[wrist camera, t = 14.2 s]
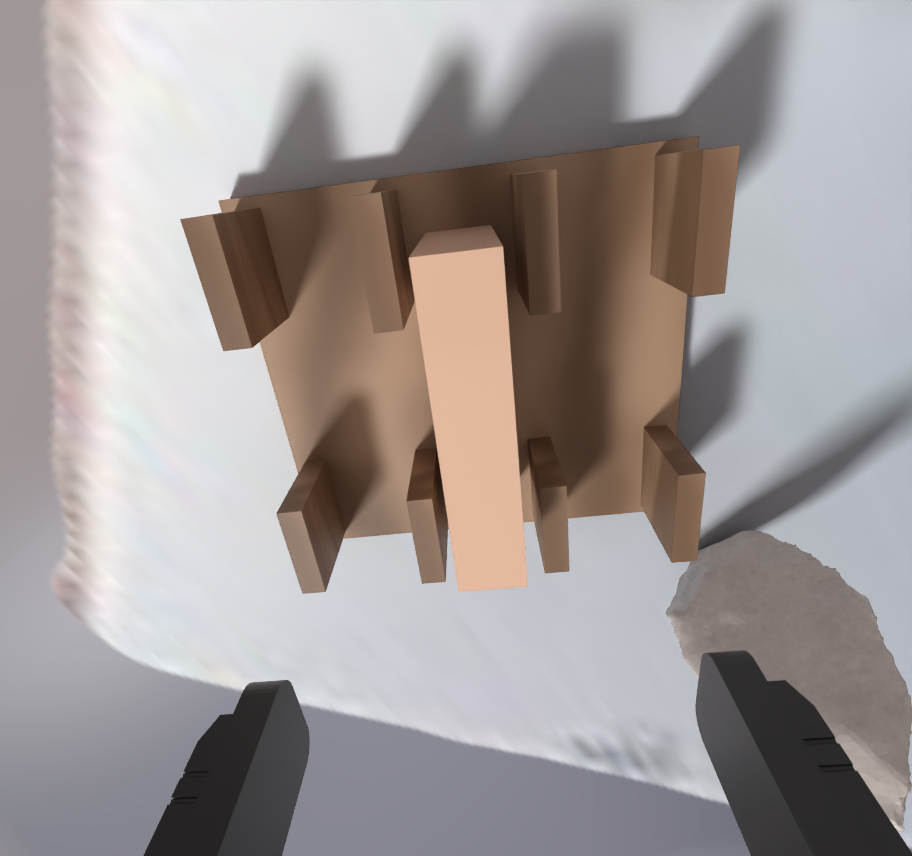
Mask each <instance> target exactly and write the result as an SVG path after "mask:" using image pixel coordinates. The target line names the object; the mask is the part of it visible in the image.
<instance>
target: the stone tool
mask: <svg viewBox="0 0 912 856" xmlns="http://www.w3.org/2000/svg"><path fill="white" fill-rule="evenodd" d="M666 615H667V617H668V618H669V619H670V620H671V622H672V623H671V624H672V625H673V627H674V630H675V635H676V637H677V639H678V640H679V644H680V647H681V649H682V654H683V658H684V660H685V661H686V663H687V664H688V665H689V666H690V667H691V669H692V670H693V671H694V673H695V675H696V677H697V678H698V679H699V672H700V663H701V657H702V655H703V653H710V652H725V651H739V650H745V651H747V652H749V653H750V654H751V655H752V657H753V658H754V660H755V661H756V663H757V664H758V666H759V668H760V669H761V671H762V673H763V674H764V676H765V678H766V679H767V681H778V680H786V681H787V682H788V683H789V684H790V685H791V686H792V687H794V688H795V689H796V690H797V691H798V692H799V693H801V694H802V695H803V696H804V697H805V698H806V699H807V700H809V701H810V702H811V703H812V704H813V705H814V706H815V707H816V709H817V710H818V712H819V713H820V715H821V716H822V718H823V719H824V721H825V722H826V724H827V725H828V727H829V728H830V730H831V731H832V733H833V735H834V736H835V740H836V742H837V743H839V744H840V745H841V747H842V748H843V750H844V751H845V753H846V754H847V756H848V757H849V759H850V760H851V762H852V763H853V768H854V769H855V771H858V772H859V774H860V775H861V777H862V778H863V780H864V781H865V783H866V785H867V786H868V788H869V789H870V791H871V792H872V794H873V795H874V797H875V798H876V800H877V801H878V803H879V804H880V806H881V807H882V809H883V810H884V812H885V813H886V815H887V816H888V818H889V819H890V821H891V822H892V824H893V825H894V827H895V828H896V829H898V830H900V831H904V830H905V828H904V827H903V826H902V825H903V821H904V812H905V809H906V808H905V802H906V797H907V795H908V794H909V793H910V792H911V786H912V784H911V782H910V774H911V773H910V771H909V764H908V755H909V746H910V741H909V738H910V734H911V733H912V732H911V723H912V706H911V697H910V695H909V694H908V690H907V686H906V682H905V681H904V679H903V678H902V677H901V674H900V673H899V671H898V669H897V667H896V665H895V663H894V658H893V656H892V654H891V653H890V652H889V651H888V649H887V648H886V647H885V644H884V642H883V637H882V636H881V633H880V631H879V629H878V625H877V623H876V621H877V617H876V616H875V615H874V612H873V609H872V607H871V605H870V603H869V599H868V598H867V597H866V596H864V595H862V594H860V593H859V592H857V591H856V590H855V589H853V588H852V587H850V586H848V585H847V584H846V582H845V581H844V580H843V579H842V577H841V576H840V573H838V571H836V568H829V567H828V566H823V565H822V564H821V562H820V561H819V560H817V559H816V558H814V557H813V556H812V555H811V554H808V553H806V552H803V551H801V550H800V549H799V548H797V547H796V545H792V544H788V543H786V542H781V541H779V540H777V539H775V538H774V537H773V536H771V535H769V534H766V533H763V532H761V531H754V530H751V531H741V532H739V533H737V534H735V535H733V536H732V537H730V538H727V539H725V540H723V541H721V542H718V543H715V544H711V545H710V546H708V547H706V548H704V549H699V550H698V554H697V561H691V562H690V565H689V567H688V569H687V571H686V572H685V573H684V574H683V575H682V576H681V577H680V579H679V583H678V588H677V592H676V595H675V596H674V598H673V600H672V602H671V605H670V607H669V608H668V609H667V611H666Z"/></svg>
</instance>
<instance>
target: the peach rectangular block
mask: <svg viewBox="0 0 912 856" xmlns="http://www.w3.org/2000/svg"><path fill="white" fill-rule="evenodd" d="M409 264H410V271H411V277H412V284H413V291H414V297H415V304H416V311H417V317H418V324H419V331H420V337H421V344H422V351H423V357H424V364H425V371H426V377H427V384H428V391H429V397H430V404H431V411H432V418H433V424H434V431H435V438H436V444H437V451H438V458H439V464H440V471H441V478H442V484H443V491H444V498H445V504H446V511H447V518H448V524H449V531H450V538H451V544H452V551H453V558H454V565H455V571H456V578H457V585H458V591H459V592H464V591H477V590H489V589H502V588H514V587H527V586H528V582H527V568H526V554H525V541H524V527H523V513H522V500H521V486H520V472H519V458H518V445H517V431H516V417H515V404H514V390H513V376H512V362H511V349H510V335H509V321H508V308H507V294H506V280H505V267H504V253H503V245H502V244H501V242H500V240H499V238H498V237H497V235H496V233H495V231H494V230H493V228H492V226H491V225H485V226H477V227H469V228H461V229H453V230H445V231H436V232H428V233H425V234H424V235H423V237H422V238H421V240H420V241H419V243H418V244H417V246H416V247H415V249H414V250H413V252H412V253H411V255H410V256H409Z"/></svg>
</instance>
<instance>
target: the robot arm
mask: <svg viewBox="0 0 912 856" xmlns="http://www.w3.org/2000/svg"><path fill="white" fill-rule="evenodd" d="M696 717H697V722H698V727H699V731H700V734H701V737H702V740H703V742H704V745H705V747H706V750H707V752H708V754H709V757H710V759H711V762H712V764H713V766H714V769H715V771H716V773H717V776H718V778H719V781H720V783H721V785H722V788H723V790H724V792H725V795H726V797H727V800H728V802H729V804H730V807H731V809H732V812H733V814H734V816H735V819H736V821H737V823H738V826H739V828H740V830H741V833H742V835H743V838H744V840H745V842H746V845H747V847H748V850H749V852H750V854H751V856H912V853H911V851H910V850H909V848H908V847H907V845H906V844H905V842H904V841H903V839H902V838H901V836H900V835H899V833H898V832H897V830H896V828H895V827H894V825H893V824H892V822H891V821H890V819H889V818H888V816H887V815H886V813H885V812H884V810H883V809H882V807H881V806H880V804H879V803H878V801H877V800H876V798H875V797H874V795H873V794H872V792H871V791H870V789H869V788H868V786H867V785H866V783H865V781H864V780H863V778H862V777H861V775H860V774H859V772H858V771H855V769H854V768H853V763H852V762H851V760H850V759H849V757H848V756H847V754H846V753H845V751H844V750H843V748H842V747H841V745H840V744H839V743H837V742H836V740H835V736H834V735H833V733H832V731H831V730H830V728H829V727H828V725H827V724H826V722H825V721H824V719H823V718H822V716H821V715H820V713H819V712H818V710H817V709H816V707H815V706H814V705H813V704H812V703H811V702H810V701H809V700H807V699H806V698H805V697H804V696H803V695H802V694H801V693H799V692H798V691H797V690H796V689H795V688H794V687H792V686H791V685H790V684H789V683H788V682H787V681H786V680H778V681H767V679H766V678H765V676H764V674H763V673H762V671H761V669H760V668H759V666H758V664H757V663H756V661H755V660H754V658H753V657H752V655H751V654H750V653H749V652H747V651H745V650H739V651H725V652H710V653H703V655H702V657H701V663H700V672H699V680H698V689H697V697H696ZM308 755H309V730H308V726H307V724H306V721H305V718H304V716H303V713H302V710H301V707H300V705H299V702H298V699H297V697H296V694H295V691H294V689H293V686H292V684H291V682H290V681H288V680H281V681H266V682H252V683H250V684H248V685H247V686H246V688H245V689H244V691H243V693H242V695H241V697H240V700H239V702H238V704H237V706H236V709H235V711H234V713H233V714H227V715H220V716H219V717H218V718H217V720H216V721H215V722H214V723H213V724H212V726H211V727H210V728H209V729H208V730H207V731H206V733H205V734H204V735H203V736H202V737H201V738H200V740H199V741H198V742H197V744H196V747H195V749H194V751H193V753H192V755H191V757H190V759H189V761H188V763H187V766H186V768H185V770H184V772H183V778H181V779H180V780H179V782H178V784H177V786H176V788H175V791H174V793H173V795H172V797H171V803H170V805H167V807H166V810H165V812H164V814H163V816H162V818H161V820H160V822H159V824H158V826H157V828H156V830H155V833H154V835H153V837H152V839H151V841H150V843H149V846H148V847H147V849H146V852H145V854H144V856H282V853H283V849H284V846H285V842H286V838H287V835H288V831H289V827H290V824H291V820H292V816H293V813H294V809H295V805H296V802H297V798H298V794H299V790H300V787H301V783H302V780H303V776H304V772H305V768H306V765H307V761H308Z"/></svg>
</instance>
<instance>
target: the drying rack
mask: <svg viewBox="0 0 912 856" xmlns="http://www.w3.org/2000/svg"><path fill="white" fill-rule="evenodd" d="M698 144H699V136H697V137H689V138H682V139H674V140H667V141H659V142H652V143H644V144H637V145H629V146H622V147H615V148H607V149H600V150H592V151H585V152H577V153H570V154H562V155H555V156H548V157H540V158H533V159H525V160H518V161H510V162H503V163H495V164H488V165H480V166H473V167H466V168H458V169H451V170H443V171H436V172H428V173H421V174H413V175H406V176H399V177H391V178H384V179H376V180H369V181H361V182H354V183H346V184H339V185H332V186H324V187H317V188H309V189H302V190H294V191H287V192H279V193H272V194H264V195H257V196H250V197H242V198H235V199H227V200H220V201H219V204H220V208H221V211H222V213H218V214H212V215H205V216H199V217H192V218H186V219H180V220H181V223H182V226H183V229H184V232H185V235H186V238H187V241H188V244H189V247H190V250H191V253H192V257H193V260H194V263H195V266H196V269H197V272H198V275H199V278H200V281H201V284H202V287H203V290H204V293H205V296H206V299H207V302H208V305H209V309H210V312H211V315H212V318H213V321H214V324H215V327H216V330H217V333H218V336H219V339H220V342H221V345H222V348H223V351H229V350H238V349H246V348H252V347H254V346H255V345H256V344H257V343H259V342H260V344H261V348H262V351H263V355H264V358H265V362H266V365H267V368H268V372H269V375H270V379H271V382H272V385H273V389H274V392H275V396H276V399H277V403H278V406H279V409H280V413H281V416H282V420H283V423H284V426H285V430H286V433H287V437H288V440H289V444H290V447H291V450H292V454H293V457H294V461H295V464H296V467H297V471H298V476H297V477H296V479H295V481H294V483H293V485H292V486H291V488H290V490H289V492H288V494H287V495H286V497H285V499H284V501H283V503H282V504H281V506H280V508H279V510H278V512H277V517H278V520H279V523H280V526H281V529H282V532H283V535H284V538H285V541H286V544H287V547H288V550H289V553H290V556H291V560H292V563H293V566H294V569H295V572H296V575H297V578H298V581H299V584H300V587H301V590H302V593H303V594H305V593H317V592H326V589H327V586H328V583H329V580H330V577H331V574H332V571H333V568H334V565H335V561H336V558H337V555H338V552H339V549H340V546H341V543H342V540H343V539H344V538H355V537H367V536H378V535H389V534H400V533H411V532H412V534H413V539H414V544H415V550H416V555H417V560H418V565H419V570H420V576H421V581H422V584H424V583H436V582H446V560H447V537H448V529H449V524H448V518H447V511H446V504H445V498H444V491H443V484H442V478H441V471H440V464H439V458H438V451H437V444H436V438H435V431H434V424H433V418H432V411H431V404H430V397H429V391H428V384H427V377H426V371H425V364H424V357H423V351H422V344H421V337H420V331H419V324H418V317H417V311H416V304H415V297H414V291H413V284H412V277H411V271H410V264H409V256H410V255H411V253H412V252H413V250H414V249H415V247H416V246H417V244H418V243H419V241H420V240H421V238H422V237H423V235H424V234H425V233H428V232H436V231H445V230H453V229H461V228H469V227H477V226H485V225H491V226H492V228H493V230H494V231H495V233H496V235H497V237H498V238H499V240H500V242H501V244H502V245H503V253H504V267H505V280H506V294H507V308H508V321H509V335H510V349H511V362H512V376H513V390H514V404H515V417H516V431H517V445H518V458H519V472H520V486H521V500H522V513H523V522H532V521H534V522H535V527H536V532H537V537H538V542H539V546H540V551H541V556H542V561H543V566H544V571H545V573H555V572H567V571H569V547H568V518H577V517H588V516H599V515H610V514H621V513H632V512H643V511H644V512H645V514H646V516H647V518H648V520H649V521H650V523H651V525H652V527H653V529H654V531H655V532H656V534H657V536H658V538H659V540H660V542H661V544H662V545H663V547H664V549H665V551H666V553H667V555H668V557H669V558H670V560H671V562H672V563H674V562H686V561H697V554H698V544H699V535H700V525H701V515H702V506H703V496H704V487H705V477H706V473H705V471H704V470H703V469H702V468H701V466H700V465H699V464H698V463H697V462H696V460H695V459H694V458H693V457H692V455H691V454H690V453H689V452H688V451H687V449H686V448H685V447H684V446H683V444H682V443H681V442H680V441H679V440H678V438H677V430H678V416H679V403H680V389H681V375H682V362H683V348H684V335H685V321H686V307H687V294H688V295H690V296H691V297H697V296H706V295H715V294H723V293H725V285H726V275H727V266H728V256H729V247H730V237H731V228H732V218H733V208H734V199H735V189H736V180H737V170H738V160H739V151H740V145H737V146H728V147H719V148H710V149H701V150H698Z"/></svg>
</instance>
